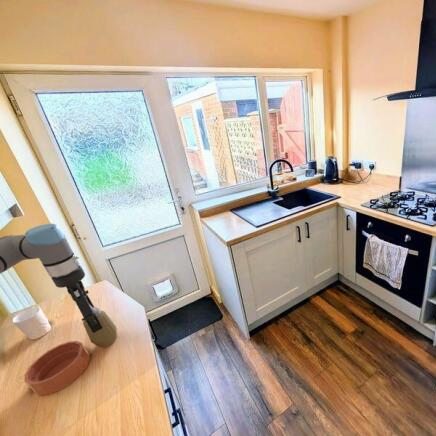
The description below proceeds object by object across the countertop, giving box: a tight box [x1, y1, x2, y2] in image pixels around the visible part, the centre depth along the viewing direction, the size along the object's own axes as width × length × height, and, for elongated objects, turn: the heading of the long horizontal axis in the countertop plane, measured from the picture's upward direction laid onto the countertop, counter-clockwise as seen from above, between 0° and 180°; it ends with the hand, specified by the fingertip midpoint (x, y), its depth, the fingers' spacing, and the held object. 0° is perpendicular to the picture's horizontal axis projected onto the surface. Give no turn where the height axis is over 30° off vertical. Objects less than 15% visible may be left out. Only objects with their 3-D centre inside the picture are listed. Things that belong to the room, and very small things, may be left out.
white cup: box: [12, 306, 52, 340], centre depth 96 cm, size 8×8×10 cm
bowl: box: [24, 340, 91, 396], centre depth 80 cm, size 14×14×6 cm
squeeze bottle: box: [82, 304, 118, 348], centre depth 87 cm, size 8×8×18 cm
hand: (94, 319), depth 87 cm, fingers open, 13 cm apart
